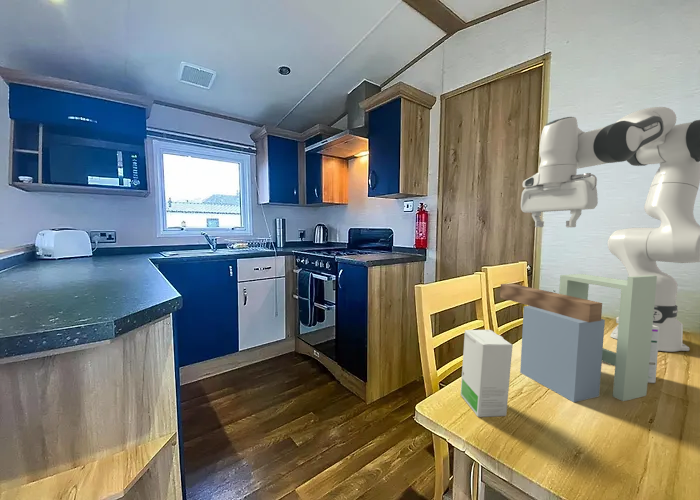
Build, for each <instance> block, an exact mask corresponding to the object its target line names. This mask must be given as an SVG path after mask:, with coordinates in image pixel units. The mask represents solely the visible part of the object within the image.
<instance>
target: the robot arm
mask: <svg viewBox="0 0 700 500" xmlns="http://www.w3.org/2000/svg"><path fill="white" fill-rule="evenodd" d="M676 123H677V114H676V113H675V111H674V110H673V109H671V108H670V107H666V106H653V107H646V108H643V109H639V110H635V111H633V112H630V113H628V114H626V115H624V116H622V117H620V119H617V120H616V122H614V123H611V124H607V125H606V126H603V127H599V128H596V129H593V130H589V131H583V130H582V129H580V128H579V127H578V119H577V117H575V116H567V117H565V116H564V117H562V118H558V119H555V120H552V121H549V122H548V123H546V124H545V125H544V126H543V129H542V131H541V135H540V140H539V141H540V142H539V152H538V153H539V158H540V162H539V166H538V172H536V173H534V174H533V175H532V176H531V177H529V178H527V179H524V180H523V182H522V188H524V189H523V190H522V192H521V195H520V196H521V197H520V210H521V211H522V213H528V214H530V213H531V217H532V219H533V221H534V227H535V228H544V227H545V226H544V224H545V221H542V219H541V216H542V213H545V212H546V213H547V212H549V213H551V212H566V211H567V212H569V211H570V215H571V216H570V218H569V220H565V227H566V228H576V227H577V221H578V220H579V219H580V217H581V216H582V210H594V209H595V208H596V207H597V206H598V202H599V201H598V200H599V198H598V189H597V185H598V184H597V183H598V178H597V176H596V175H595V174H592V173H591V172H587V173H581V174H577V171H578V169H584V168H590V167H595V166H601V165H605V164H615V163H623V162H627V163H628V164H630V165H631V166H637V167H643V166H645V167H646V166H648V165H657V164H659V167H658V169H657V171H656V173H655V174H654V177H653V179H652V181H651V184H650V187H649V188H648V189H649V190H648V193H647V195H646V199H645V203H644V205H643V206H644V207H643V208H644V211H645V214H647V216H649V217H651V218H652V219H656V220H657V221H660V225H659V227H629V228H623V229H617V230H615V231H613V232H612V233H611V234H610V236H609V237H608V239H607V248H608V250H609V252H610V253H611V254H612V255H613V256H614V257H616V258H617V259H618V260H619V261H620V262H621V263H622V264H623V266H624V269H625V270H626V272H627V275H628V276H627V277H631V276H647V275H653V276H657V282H656V293H655V304H654V315H653V325H654V326H657V327H659V342H658V352H659V351H660V352H661V351H662V352H668V353H669V352H673V353H674V352H679V351H681V352H682V351H683V352H685V351H686V352H689V351H690V347H689V346H688V345H687V344H685V343H683V337H684V336H683V332H684V331H683V329H684V328H683V327H684V324H683V323H682V322H681V321H680V320H678V319H677V316H678V311H679V309H678V305H677V296H678V295H677V294H678V283H677V281H676V279H675V278H674V277H673V276H671V275H669V274H667V273H665V272H664V271H662V270H661V269H660V268H659V267H658V264H657V262H664V263H665V262H666V263H675V264H690V263H691V264H693V263H700V224H699V223H698V222H697V221H696V218H695V216H694V208H695V203H696V199H697V195H698V190H699V187H700V119H698V120H696V119H695V120H694V121H691V122H685V123H679V124H676ZM615 323H616V324H617V325H616V326H615V328H614V329H613V330H612V331H611V333H610V336H609V337H610V338H613V339H616V340H617V337H618V324H619V316H616V320H615Z"/></svg>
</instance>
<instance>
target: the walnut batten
mask: <svg viewBox="0 0 700 500" xmlns="http://www.w3.org/2000/svg"><path fill="white" fill-rule="evenodd" d="M499 297H500V299H504V300H508V301H512V302H515V303H519V304H521V305H522V304H523V305H525V306H532V307H536V308H539V309H543V310H546V311H550V312H554V313H557V314H561V315H564V316H568V317H571V318H575V319H579V320H582V321H586V322H595V321H601V319H602V313H603V312H602V311H603V302H599V301H594V300H590V299H588V300H586V299H581V298H577V297H572V296H567V295H563V294H559V292H552V291H549V290H544V289H543V290H542V289H539V288H534V287H530V286H525V285H520V284H516V283H501V284H500V293H499Z"/></svg>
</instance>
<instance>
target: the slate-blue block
mask: <svg viewBox="0 0 700 500" xmlns="http://www.w3.org/2000/svg"><path fill="white" fill-rule="evenodd" d="M522 315H523V316H522V317H523V318H522V335H521V337H522V338H521V350H520V351H521V352H520V354H521V355H520V371H519V372H520V374H521V375H524V376H525V377H527V378H529V379H531V380H533V381H535V382H537V383H538V384H540V385H542V386H544V387H545V388H547V389H549V390H551V391H552V392H555V393H556V394H559V395H560V396H562V397H563V398H565V399H567V400H569V401H571V402H573V403H577V402H581V401H585V400H590V399H594V398H598V397H600V389H601V376H602V365H603V364H602V363H603V361H602V352H603V348H604V337H605V324H606V320H605V319H602V318H601V321H595V322H586V321H582V320H579V319H575V318H571V317H568V316H564V315H561V314H557V313H554V312H550V311H546V310H543V309H539V308H536V307H532V306H529V305H525V306H523V314H522Z"/></svg>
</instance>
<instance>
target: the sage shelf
mask: <svg viewBox="0 0 700 500" xmlns="http://www.w3.org/2000/svg"><path fill="white" fill-rule="evenodd" d="M559 277H560V278H559V290H558V294H563V295H567V296H572V297H577V298H581V299H586V300H589V289H590V285H595V286H600V287H606V288H612V289H616V290H617V289H618V290H620V291H621V292H620V300H619V311H618V314H619V315H618V317H619V323H617V325H618V337H617V339H616V350H615V351H616V352H614V351H612V350H609V349H607V348H604V347H603V352H602V362H605V363H607V364H609V365H612V366H614V375H613V376H614V377H613V391H612V398H615V399H617V400H619V401H621V402H625V401H630V400H635V399H638V398H641V397H646V396H647V394H648V393H647V392H648V371H649V360H650V349H651V338H652V327H653V315H654V304H655V293H656V282H657V276H653V275H647V276H631V277H629V276H627V280H626V279H620V278H611V277H606V276H599V275H592V274H586V273H576V274H575V273H573V274H571V273H570V274H560V275H559Z"/></svg>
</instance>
